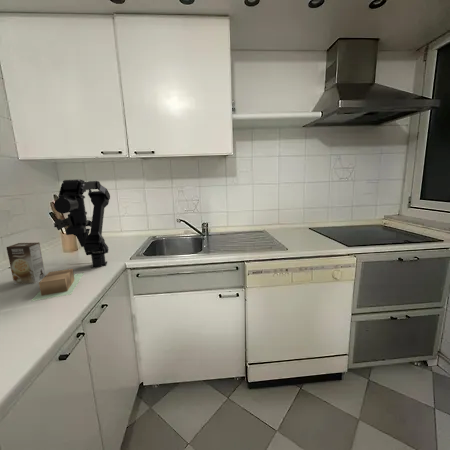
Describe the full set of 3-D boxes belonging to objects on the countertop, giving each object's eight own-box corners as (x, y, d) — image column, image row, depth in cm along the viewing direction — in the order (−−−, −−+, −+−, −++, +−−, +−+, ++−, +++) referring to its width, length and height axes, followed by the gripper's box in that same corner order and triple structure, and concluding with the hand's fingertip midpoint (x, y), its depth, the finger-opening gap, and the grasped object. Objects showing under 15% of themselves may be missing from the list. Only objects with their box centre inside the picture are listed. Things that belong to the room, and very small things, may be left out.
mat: (52, 278, 101) (52, 277, 101) (84, 273, 105) (83, 272, 105) (30, 302, 81) (30, 301, 81) (71, 295, 85) (71, 294, 85)
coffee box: (13, 285, 96) (4, 247, 93) (25, 278, 102) (18, 242, 100) (36, 283, 96) (28, 245, 93) (47, 277, 103) (40, 241, 100)
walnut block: (49, 271, 94) (38, 282, 84) (72, 268, 97) (65, 278, 86) (51, 283, 95) (41, 295, 85) (74, 280, 97) (67, 291, 87)
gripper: (61, 209, 104) (67, 244, 107) (46, 214, 86) (53, 255, 89) (89, 207, 107) (94, 240, 110) (80, 212, 90) (87, 251, 93)
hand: (83, 246), depth 101 cm, fingers closed
